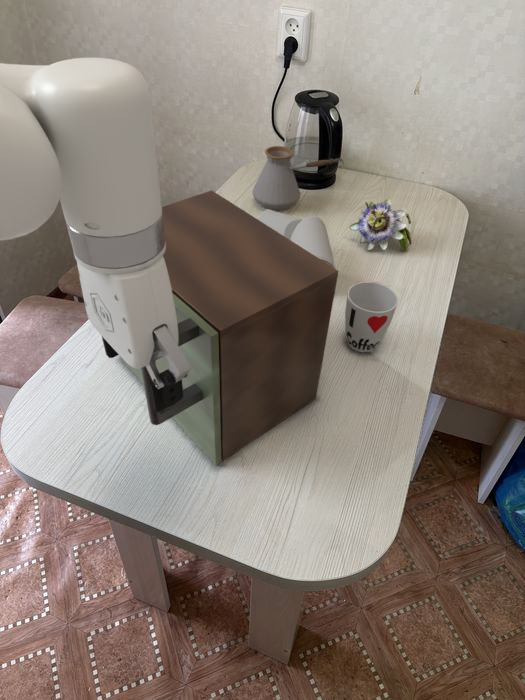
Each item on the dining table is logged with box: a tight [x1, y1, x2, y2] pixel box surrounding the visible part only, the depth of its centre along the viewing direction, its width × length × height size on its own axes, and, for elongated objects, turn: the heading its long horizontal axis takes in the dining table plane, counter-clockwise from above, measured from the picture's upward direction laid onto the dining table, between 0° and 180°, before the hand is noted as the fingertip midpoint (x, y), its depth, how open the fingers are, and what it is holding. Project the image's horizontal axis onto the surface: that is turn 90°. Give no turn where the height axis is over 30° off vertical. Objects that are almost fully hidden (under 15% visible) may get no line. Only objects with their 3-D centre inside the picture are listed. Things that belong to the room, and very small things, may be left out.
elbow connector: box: [257, 209, 337, 270], centre depth 100 cm, size 18×11×20 cm
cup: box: [344, 281, 399, 353], centre depth 85 cm, size 8×8×10 cm
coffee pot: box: [252, 145, 345, 213], centre depth 116 cm, size 21×12×15 cm, turn 59°
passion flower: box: [349, 197, 412, 252], centre depth 110 cm, size 11×11×12 cm
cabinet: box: [162, 189, 339, 462], centre depth 72 cm, size 18×26×24 cm
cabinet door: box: [119, 294, 223, 466], centre depth 66 cm, size 8×26×24 cm, turn 40°
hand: (143, 376), depth 53 cm, fingers open, 9 cm apart
